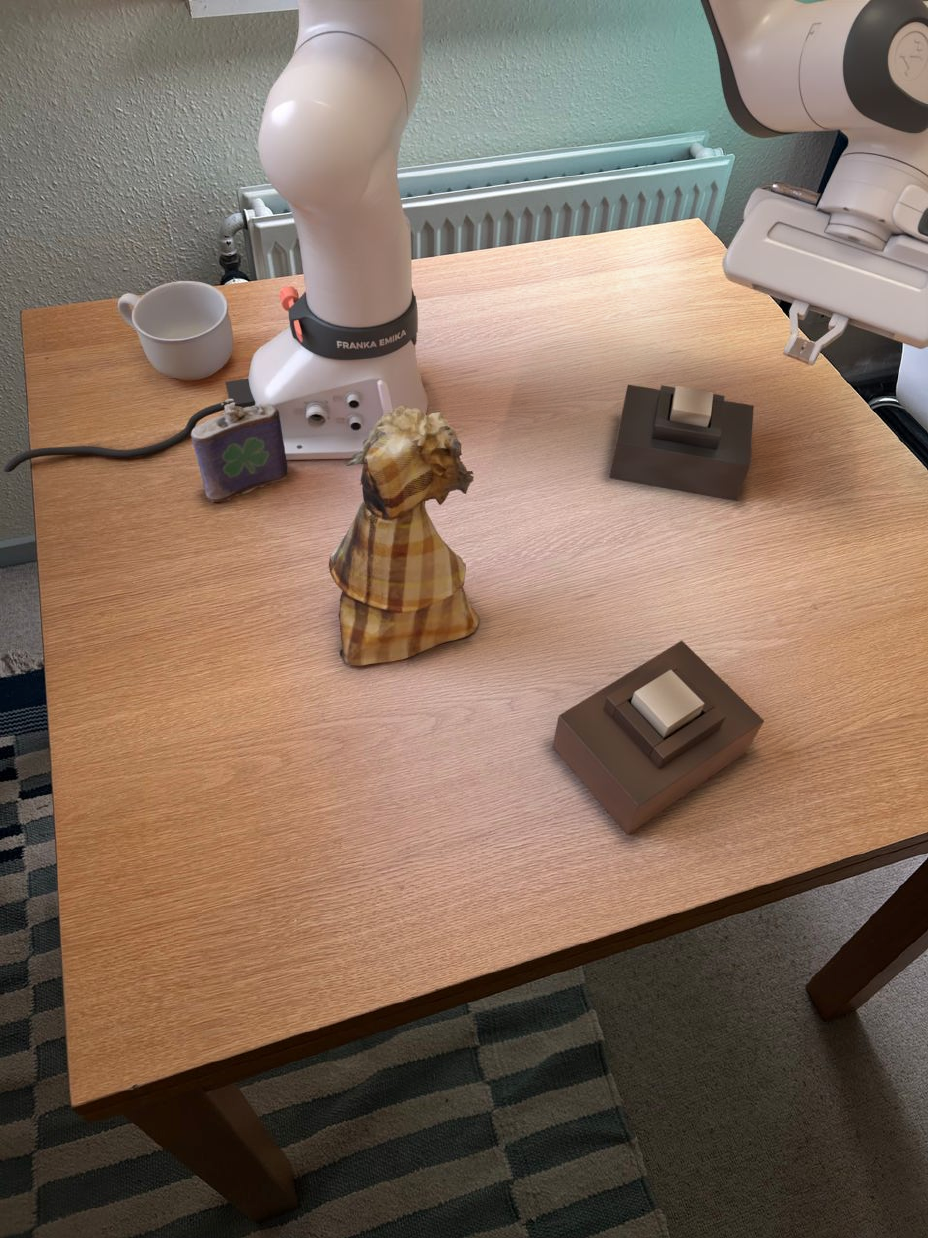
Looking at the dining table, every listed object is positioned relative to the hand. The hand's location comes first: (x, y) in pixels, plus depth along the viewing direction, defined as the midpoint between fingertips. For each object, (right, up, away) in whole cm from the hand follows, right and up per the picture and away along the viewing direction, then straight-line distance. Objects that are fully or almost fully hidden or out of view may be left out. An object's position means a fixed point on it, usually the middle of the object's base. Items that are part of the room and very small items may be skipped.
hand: (797, 359), depth 85 cm
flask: (-54, -9, +14) cm, 57 cm away
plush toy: (-37, -23, +4) cm, 44 cm away
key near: (-14, -31, -10) cm, 36 cm away
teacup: (-65, +7, +27) cm, 71 cm away
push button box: (-15, -35, -5) cm, 38 cm away
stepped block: (-7, -6, +18) cm, 21 cm away
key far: (-7, -2, +13) cm, 15 cm away
